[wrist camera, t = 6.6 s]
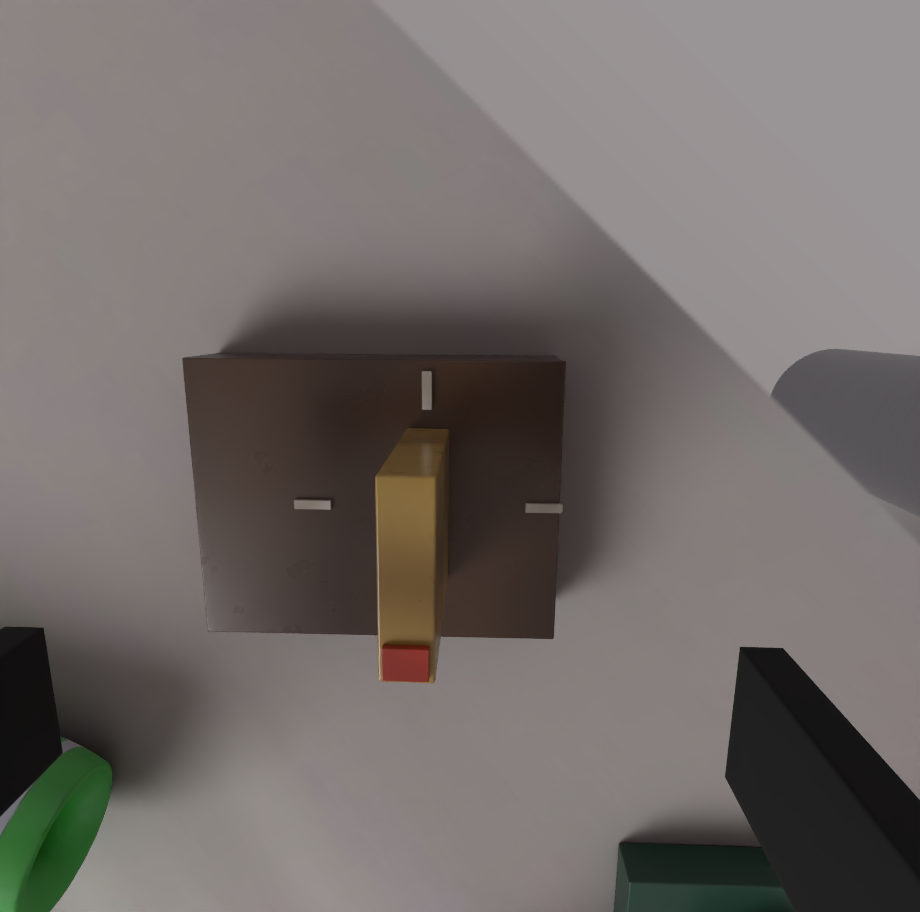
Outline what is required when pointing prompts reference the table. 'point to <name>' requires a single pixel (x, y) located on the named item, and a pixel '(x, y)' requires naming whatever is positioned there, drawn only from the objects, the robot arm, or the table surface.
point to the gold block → (412, 555)
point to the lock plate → (372, 485)
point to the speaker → (52, 829)
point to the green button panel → (696, 879)
